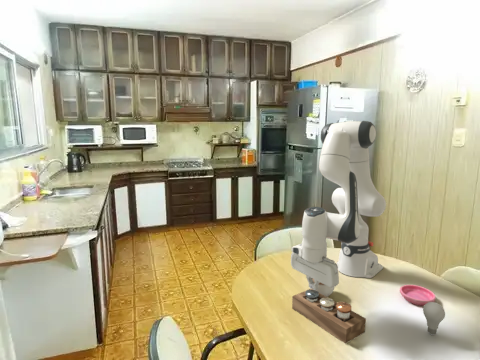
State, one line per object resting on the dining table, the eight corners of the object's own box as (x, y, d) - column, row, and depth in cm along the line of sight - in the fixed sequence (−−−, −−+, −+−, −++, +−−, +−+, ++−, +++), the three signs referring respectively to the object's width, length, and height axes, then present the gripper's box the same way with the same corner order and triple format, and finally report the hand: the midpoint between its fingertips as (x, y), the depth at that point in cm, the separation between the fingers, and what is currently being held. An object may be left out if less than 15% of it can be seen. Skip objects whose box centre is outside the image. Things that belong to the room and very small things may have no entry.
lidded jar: (302, 292, 131) (302, 271, 129) (319, 285, 137) (319, 264, 136) (323, 304, 122) (324, 281, 121) (340, 295, 129) (341, 273, 127)
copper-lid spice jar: (341, 316, 110) (342, 300, 109) (353, 323, 106) (354, 306, 105) (332, 321, 107) (333, 304, 106) (344, 328, 103) (345, 311, 102)
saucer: (434, 296, 128) (435, 288, 128) (436, 311, 117) (436, 303, 117) (399, 288, 134) (400, 281, 133) (398, 303, 123) (399, 295, 123)
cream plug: (325, 312, 116) (326, 296, 115) (336, 318, 112) (337, 302, 111) (316, 316, 113) (317, 300, 112) (327, 323, 109) (327, 306, 108)
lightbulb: (416, 329, 107) (419, 298, 105) (434, 327, 108) (437, 297, 106) (429, 341, 101) (432, 309, 99) (447, 339, 102) (450, 308, 100)
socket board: (310, 300, 125) (311, 288, 124) (364, 332, 105) (365, 318, 105) (292, 308, 120) (292, 296, 119) (345, 343, 100) (346, 329, 99)
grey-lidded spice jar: (311, 303, 121) (311, 288, 120) (320, 309, 117) (321, 293, 116) (302, 307, 119) (302, 291, 118) (311, 313, 115) (312, 297, 114)
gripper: (343, 260, 108) (342, 297, 110) (300, 242, 125) (299, 275, 127) (331, 264, 104) (330, 303, 107) (288, 246, 121) (287, 280, 123)
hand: (313, 288), depth 117 cm, fingers closed
